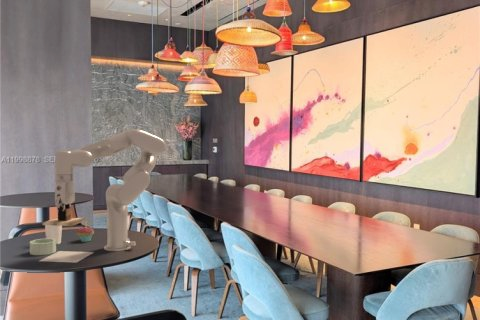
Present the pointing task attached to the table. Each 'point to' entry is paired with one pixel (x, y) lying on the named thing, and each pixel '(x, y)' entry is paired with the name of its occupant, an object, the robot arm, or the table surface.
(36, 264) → the table surface
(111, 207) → the robot arm
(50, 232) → the white cup
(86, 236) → the cupcake
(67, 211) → the lid
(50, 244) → the bowl
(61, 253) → the mat
